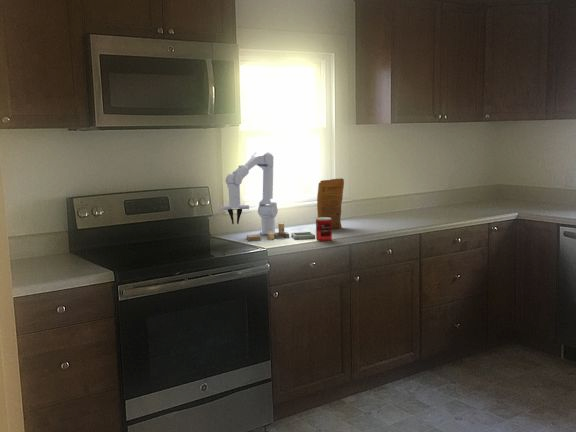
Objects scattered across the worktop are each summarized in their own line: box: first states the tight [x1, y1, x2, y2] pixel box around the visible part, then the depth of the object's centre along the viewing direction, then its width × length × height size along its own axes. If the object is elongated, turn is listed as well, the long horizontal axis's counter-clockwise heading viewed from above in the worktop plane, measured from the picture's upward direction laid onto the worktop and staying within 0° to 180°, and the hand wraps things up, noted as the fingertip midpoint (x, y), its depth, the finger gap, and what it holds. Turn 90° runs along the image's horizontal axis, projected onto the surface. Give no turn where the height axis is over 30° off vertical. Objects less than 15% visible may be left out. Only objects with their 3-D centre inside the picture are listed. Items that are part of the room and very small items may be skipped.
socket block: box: [274, 231, 290, 239], centre depth 337 cm, size 7×7×2 cm
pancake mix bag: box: [316, 178, 345, 230], centre depth 360 cm, size 7×19×28 cm, turn 121°
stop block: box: [267, 232, 275, 241], centre depth 333 cm, size 8×2×3 cm, turn 9°
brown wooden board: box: [246, 233, 261, 242], centre depth 331 cm, size 9×6×2 cm, turn 10°
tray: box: [291, 231, 316, 240], centre depth 333 cm, size 12×10×2 cm
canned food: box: [315, 217, 333, 242], centre depth 322 cm, size 8×8×11 cm
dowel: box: [277, 222, 285, 234], centre depth 336 cm, size 3×3×7 cm
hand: (235, 223), depth 329 cm, fingers closed
